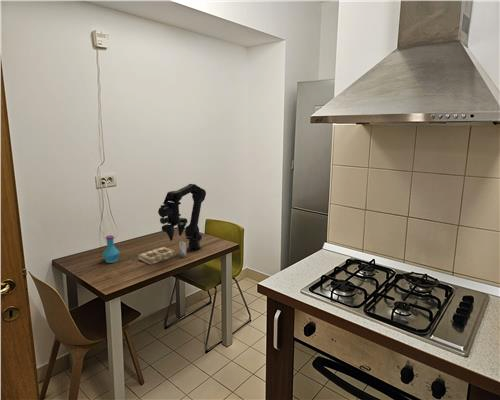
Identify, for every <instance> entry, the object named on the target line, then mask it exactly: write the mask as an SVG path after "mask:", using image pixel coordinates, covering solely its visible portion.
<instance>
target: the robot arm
mask: <svg viewBox="0 0 500 400" xmlns="http://www.w3.org/2000/svg"><path fill="white" fill-rule="evenodd" d="M189 194H192V195H191V196H192V197H191V198H192V201H193V205H192V211H191V214H190V215H191V216H190V222H189V224H188V219H187V218H185V217H181V213H180V205H181V204H182V203H181V200H182V199H183V197H185V196H186V195H189ZM206 196H207V192H206V189H204V188H202V187H200V186H199V185H197V184H195V183H188V184H187V185H185V186H183V187H181V188H180V189H177V190H171V191H168V192H167V193H166V195H165V197H164V201H163V203H162V204H160V207H159V208H158V211H157V212H158V215H159V217H160V218H159V223H160V224H161V225H162V226H161V231H162V232H164V233H166V234H167V236H168V238H169V241H170V242H172V241H173V240H174V239H173V238H174V234H175V227H177V229H178V236H179V237H181V236H182V235H183V233H184V235H185V239H186V240H188V247H187V249H188V250H190V251H193V252H194V251H197V250H199V249H202V247H201V246H200V241H201V240H202V239H203V236H202V234H201V233H200V228H199V218H200V213H201V208H202V203H203V202H204V201H205V200H206ZM187 224H188V225H187ZM184 229H185V230H184Z"/></svg>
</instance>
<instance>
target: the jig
mask: <svg viewBox="0 0 500 400" xmlns="http://www.w3.org/2000/svg"><path fill="white" fill-rule="evenodd" d="M176 255H177V254H176V251H175V250H173V249H171V248H168V247H165V246H162V247H158V248H156V249H152V250H150V251H146V252H143V253H139V254H138V260H139V261H141V262H144V263H147V264H149V265H154V264H156V263H159V262H162V261H166V260H168V259H171V258H174V257H176Z"/></svg>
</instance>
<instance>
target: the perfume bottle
mask: <svg viewBox="0 0 500 400" xmlns="http://www.w3.org/2000/svg"><path fill="white" fill-rule="evenodd" d="M114 237H115V236H114V235H111V234H110V235H107V236H105V239H106V248H105V249H104V250H103V253H102V256H103V257H102V258H103V259H104V261H105V263H115V262H117V261H118V260H119V256H120V250H119V249H117V247H116V246H115V244H114Z"/></svg>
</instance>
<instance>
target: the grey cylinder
mask: <svg viewBox="0 0 500 400" xmlns="http://www.w3.org/2000/svg"><path fill="white" fill-rule="evenodd" d="M178 244H179V257H180V258H186V257H187V255H188V254H187V241H185V240H182V241H179V243H178Z"/></svg>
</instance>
